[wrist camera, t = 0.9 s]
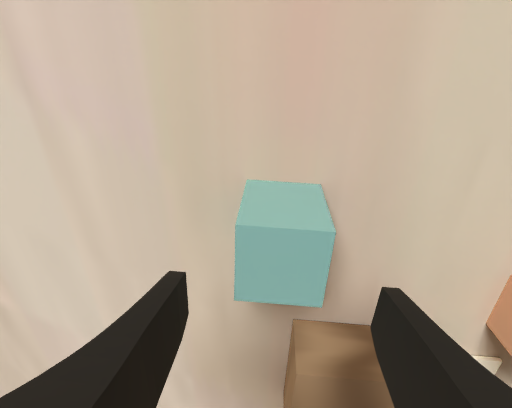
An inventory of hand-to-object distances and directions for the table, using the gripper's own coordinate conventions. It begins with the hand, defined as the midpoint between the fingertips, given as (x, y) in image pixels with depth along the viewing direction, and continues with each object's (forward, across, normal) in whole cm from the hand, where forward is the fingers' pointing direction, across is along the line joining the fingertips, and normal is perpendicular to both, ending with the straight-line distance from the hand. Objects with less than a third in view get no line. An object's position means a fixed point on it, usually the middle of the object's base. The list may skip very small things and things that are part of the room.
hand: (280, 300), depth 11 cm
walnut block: (+7, -6, +12) cm, 15 cm away
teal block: (+7, 0, 0) cm, 7 cm away
